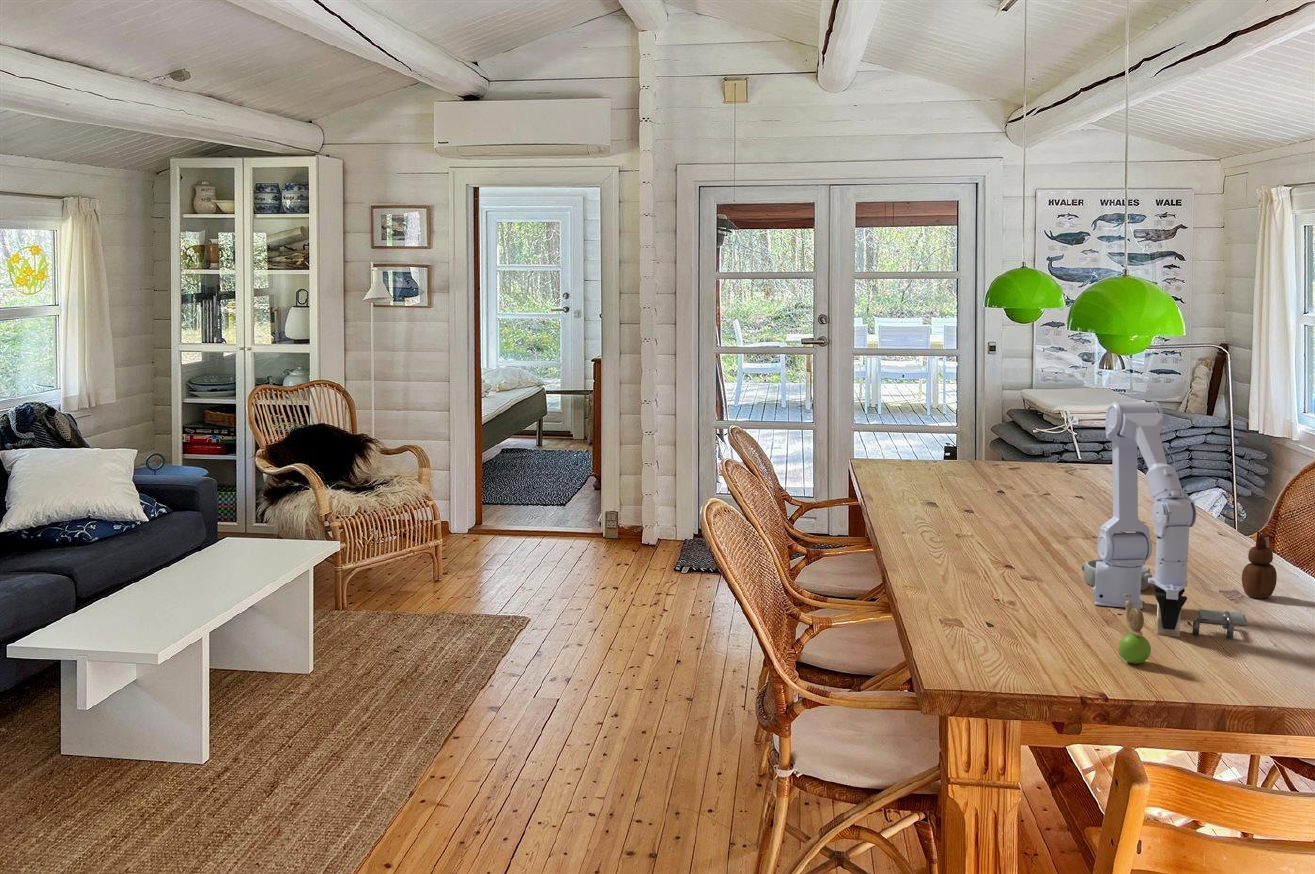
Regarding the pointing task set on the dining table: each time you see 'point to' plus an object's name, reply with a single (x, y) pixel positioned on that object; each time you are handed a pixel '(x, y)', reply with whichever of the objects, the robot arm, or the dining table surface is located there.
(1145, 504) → the dining table surface
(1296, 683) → the dining table surface
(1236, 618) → the mat
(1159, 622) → the ash block
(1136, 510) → the robot arm
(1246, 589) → the wooden figurine
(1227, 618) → the bent rod
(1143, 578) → the dish
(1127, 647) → the green beige tall piece
